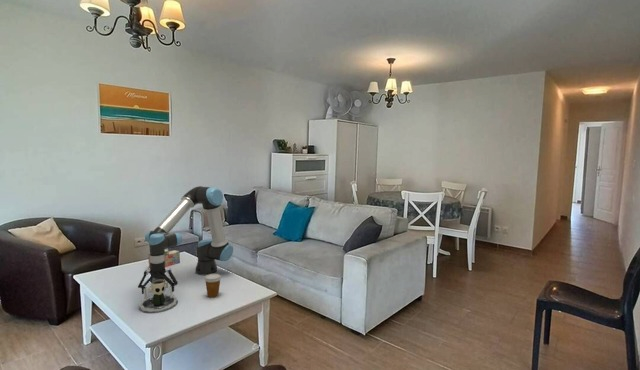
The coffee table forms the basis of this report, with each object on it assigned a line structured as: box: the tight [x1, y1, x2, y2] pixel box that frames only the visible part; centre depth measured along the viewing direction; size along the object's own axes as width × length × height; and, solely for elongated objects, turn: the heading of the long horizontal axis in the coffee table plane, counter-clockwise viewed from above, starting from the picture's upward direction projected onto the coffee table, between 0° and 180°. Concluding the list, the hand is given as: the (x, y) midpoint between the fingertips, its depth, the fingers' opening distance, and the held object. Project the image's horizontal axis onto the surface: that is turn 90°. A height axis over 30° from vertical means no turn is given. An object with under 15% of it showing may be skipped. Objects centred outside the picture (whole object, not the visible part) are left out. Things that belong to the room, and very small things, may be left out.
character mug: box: [147, 278, 169, 305], centre depth 192 cm, size 11×7×13 cm, turn 138°
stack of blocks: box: [148, 249, 181, 269], centre depth 255 cm, size 21×6×12 cm, turn 147°
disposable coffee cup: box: [204, 273, 222, 298], centre depth 206 cm, size 10×10×12 cm
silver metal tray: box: [138, 293, 179, 314], centre depth 192 cm, size 20×20×2 cm
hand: (158, 298), depth 192 cm, fingers open, 13 cm apart
